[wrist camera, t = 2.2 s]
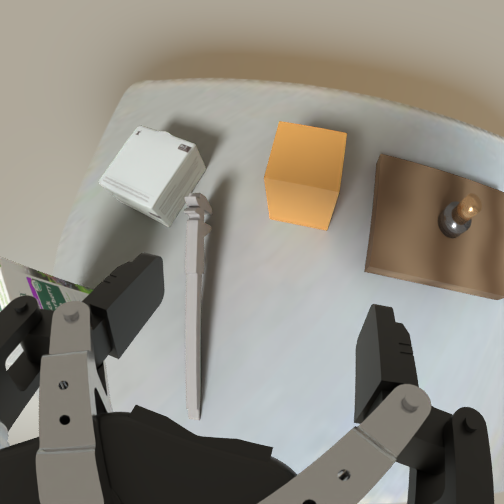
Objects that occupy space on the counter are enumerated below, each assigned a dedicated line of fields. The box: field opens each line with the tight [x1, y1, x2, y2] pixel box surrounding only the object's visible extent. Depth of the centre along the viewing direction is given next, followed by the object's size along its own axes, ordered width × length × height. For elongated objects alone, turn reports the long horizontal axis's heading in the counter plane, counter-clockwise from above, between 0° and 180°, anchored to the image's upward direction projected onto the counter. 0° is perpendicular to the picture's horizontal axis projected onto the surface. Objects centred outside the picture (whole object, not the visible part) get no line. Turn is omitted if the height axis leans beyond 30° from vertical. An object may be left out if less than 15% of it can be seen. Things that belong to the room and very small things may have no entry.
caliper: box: [184, 193, 212, 420], centre depth 26 cm, size 20×1×6 cm, turn 178°
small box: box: [99, 125, 206, 227], centre depth 31 cm, size 8×8×5 cm
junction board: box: [364, 154, 504, 300], centre depth 27 cm, size 16×12×2 cm
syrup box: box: [0, 257, 93, 365], centre depth 22 cm, size 6×6×14 cm
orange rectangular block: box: [264, 121, 347, 231], centre depth 27 cm, size 6×6×8 cm
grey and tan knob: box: [438, 193, 482, 238], centre depth 24 cm, size 3×3×5 cm
